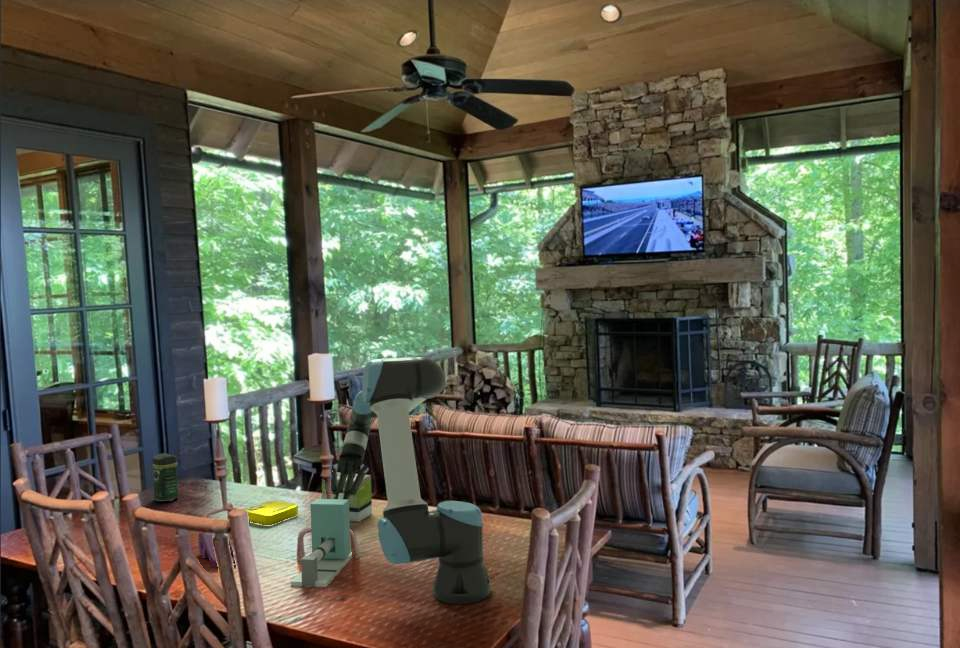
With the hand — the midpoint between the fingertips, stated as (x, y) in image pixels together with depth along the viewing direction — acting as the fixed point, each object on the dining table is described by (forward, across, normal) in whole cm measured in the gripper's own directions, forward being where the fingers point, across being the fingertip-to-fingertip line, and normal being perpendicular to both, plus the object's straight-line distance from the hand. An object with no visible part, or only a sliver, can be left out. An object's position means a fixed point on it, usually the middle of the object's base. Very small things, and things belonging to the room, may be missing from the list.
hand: (337, 514), depth 208 cm
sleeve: (+12, 0, -3) cm, 12 cm away
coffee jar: (-27, +91, -45) cm, 105 cm away
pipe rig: (+17, 0, 0) cm, 17 cm away
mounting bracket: (+14, +34, -4) cm, 37 cm away
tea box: (-16, +10, -34) cm, 39 cm away
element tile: (-13, +38, -32) cm, 51 cm away
